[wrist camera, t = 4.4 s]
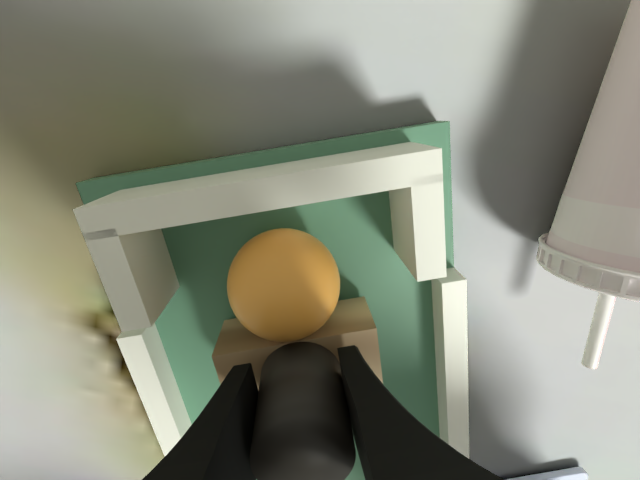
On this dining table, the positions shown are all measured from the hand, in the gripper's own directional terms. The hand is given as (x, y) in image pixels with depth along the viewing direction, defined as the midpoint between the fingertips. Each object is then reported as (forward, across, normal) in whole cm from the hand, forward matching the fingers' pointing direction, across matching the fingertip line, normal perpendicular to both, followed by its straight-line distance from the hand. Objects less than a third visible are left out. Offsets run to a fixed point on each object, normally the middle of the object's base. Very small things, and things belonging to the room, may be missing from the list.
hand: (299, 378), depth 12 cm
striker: (+3, 0, 0) cm, 3 cm away
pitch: (+5, 0, +2) cm, 5 cm away
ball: (+1, 0, -3) cm, 3 cm away
